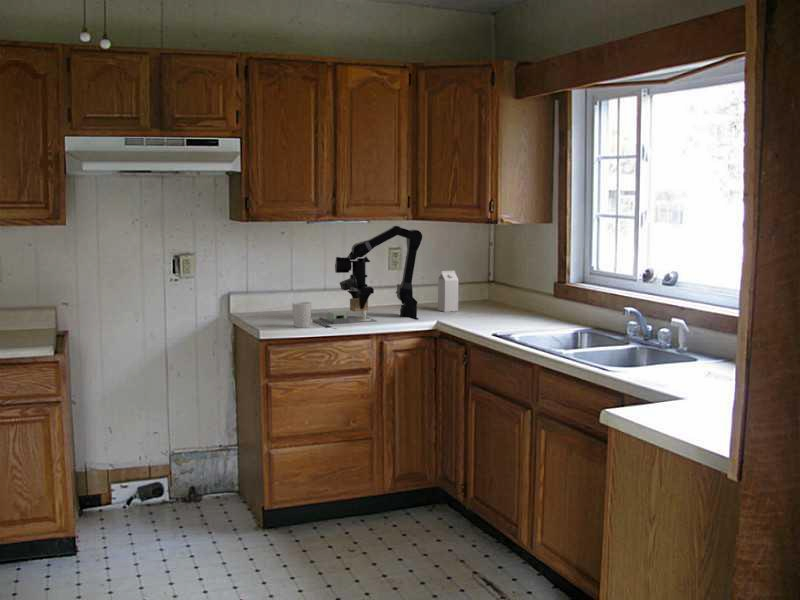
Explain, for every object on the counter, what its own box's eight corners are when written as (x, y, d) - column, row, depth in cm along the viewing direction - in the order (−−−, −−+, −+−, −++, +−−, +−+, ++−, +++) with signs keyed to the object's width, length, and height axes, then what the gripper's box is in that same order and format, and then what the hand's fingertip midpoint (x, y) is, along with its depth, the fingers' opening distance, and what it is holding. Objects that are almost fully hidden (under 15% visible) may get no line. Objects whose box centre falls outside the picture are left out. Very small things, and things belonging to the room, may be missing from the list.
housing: (340, 319, 381) (340, 310, 381) (346, 322, 375) (346, 312, 375) (327, 320, 379) (327, 311, 378) (333, 323, 373) (333, 313, 372)
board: (363, 318, 394) (363, 307, 394) (378, 324, 380) (378, 311, 379) (312, 322, 384) (312, 310, 383) (325, 327, 370) (325, 315, 369)
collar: (362, 309, 393) (362, 297, 392) (368, 310, 388) (368, 299, 387) (350, 309, 390) (349, 298, 390) (355, 311, 385) (355, 300, 384)
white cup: (302, 324, 378) (301, 301, 377) (315, 326, 373) (315, 302, 372) (288, 326, 372) (288, 303, 371) (301, 328, 367) (301, 304, 366)
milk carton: (437, 310, 421) (438, 270, 419) (450, 309, 424) (451, 269, 422) (444, 312, 415) (445, 271, 412) (458, 311, 418) (458, 271, 415)
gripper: (333, 271, 392) (333, 306, 394) (350, 275, 375) (350, 312, 377) (357, 270, 397) (357, 304, 399) (374, 274, 380) (374, 310, 382)
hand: (359, 308), depth 389 cm, fingers closed on collar, 6 cm apart
